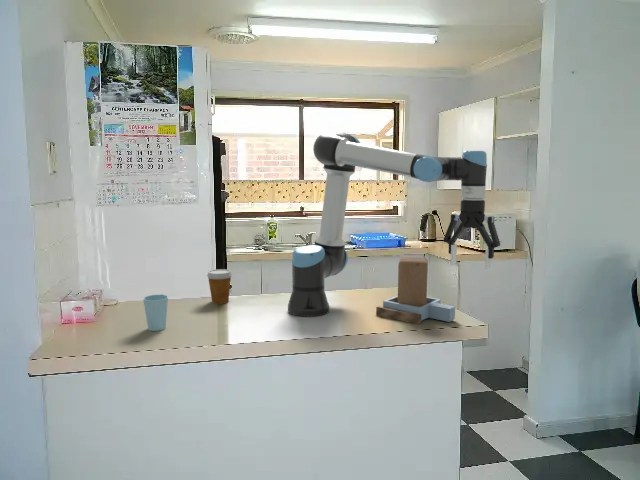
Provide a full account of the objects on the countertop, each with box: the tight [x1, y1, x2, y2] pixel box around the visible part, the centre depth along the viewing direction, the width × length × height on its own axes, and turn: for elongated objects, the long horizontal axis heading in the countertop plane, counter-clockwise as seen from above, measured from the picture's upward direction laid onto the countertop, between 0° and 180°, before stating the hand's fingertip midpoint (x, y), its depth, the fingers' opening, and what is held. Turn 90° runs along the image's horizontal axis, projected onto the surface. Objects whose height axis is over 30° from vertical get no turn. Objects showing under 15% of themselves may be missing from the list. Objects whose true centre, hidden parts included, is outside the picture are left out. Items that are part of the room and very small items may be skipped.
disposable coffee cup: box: [206, 268, 233, 305], centre depth 201 cm, size 10×10×12 cm
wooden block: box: [397, 256, 429, 307], centre depth 185 cm, size 10×10×20 cm
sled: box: [382, 295, 456, 323], centre depth 184 cm, size 23×15×4 cm, turn 51°
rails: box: [375, 302, 446, 325], centre depth 187 cm, size 17×19×3 cm
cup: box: [142, 294, 169, 332], centre depth 168 cm, size 8×8×10 cm
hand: (470, 265), depth 170 cm, fingers open, 11 cm apart
